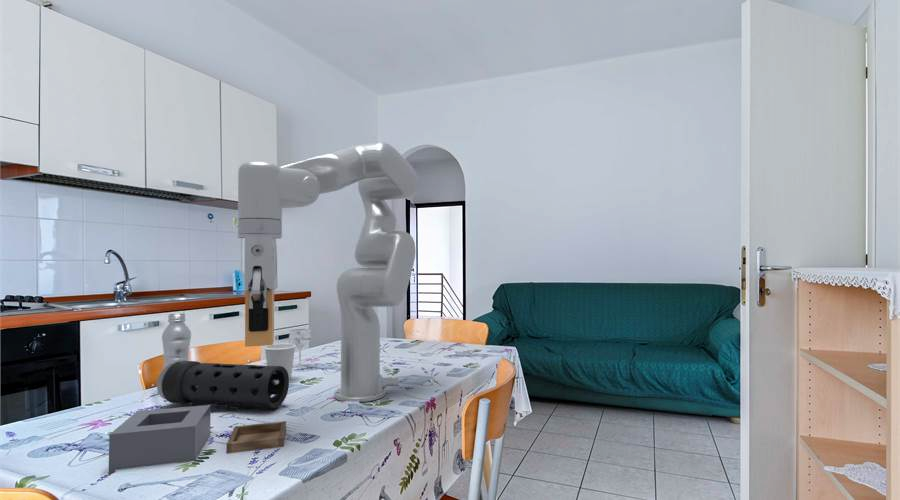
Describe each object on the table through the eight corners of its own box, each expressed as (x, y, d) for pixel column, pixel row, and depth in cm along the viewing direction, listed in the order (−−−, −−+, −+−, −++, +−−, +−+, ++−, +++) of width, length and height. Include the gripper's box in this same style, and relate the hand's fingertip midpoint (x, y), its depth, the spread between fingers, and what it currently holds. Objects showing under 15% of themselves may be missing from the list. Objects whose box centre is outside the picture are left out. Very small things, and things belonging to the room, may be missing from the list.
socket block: (210, 436, 86) (210, 404, 86) (194, 463, 74) (195, 425, 74) (136, 444, 82) (137, 411, 82) (108, 473, 71) (109, 434, 71)
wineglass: (284, 370, 141) (284, 331, 141) (295, 365, 147) (295, 328, 148) (304, 371, 140) (305, 332, 140) (314, 366, 146) (315, 328, 147)
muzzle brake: (265, 419, 96) (265, 370, 96) (153, 411, 102) (153, 365, 102) (290, 405, 105) (290, 360, 106) (185, 399, 111) (186, 356, 111)
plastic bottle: (168, 389, 119) (169, 313, 120) (195, 388, 120) (196, 312, 121) (154, 396, 113) (155, 315, 114) (183, 395, 114) (184, 315, 114)
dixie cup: (284, 376, 133) (284, 342, 133) (301, 380, 128) (302, 345, 128) (257, 382, 126) (257, 346, 126) (275, 387, 121) (275, 349, 121)
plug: (274, 341, 86) (274, 277, 87) (272, 345, 82) (272, 278, 82) (248, 342, 85) (248, 278, 85) (245, 346, 81) (245, 279, 81)
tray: (286, 431, 88) (286, 421, 88) (283, 449, 80) (283, 437, 80) (234, 437, 86) (234, 426, 86) (226, 456, 77) (226, 444, 77)
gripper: (279, 226, 77) (278, 334, 77) (284, 233, 93) (284, 322, 93) (230, 226, 75) (230, 337, 74) (244, 233, 91) (244, 324, 90)
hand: (260, 328), depth 84 cm, fingers closed on plug, 4 cm apart
